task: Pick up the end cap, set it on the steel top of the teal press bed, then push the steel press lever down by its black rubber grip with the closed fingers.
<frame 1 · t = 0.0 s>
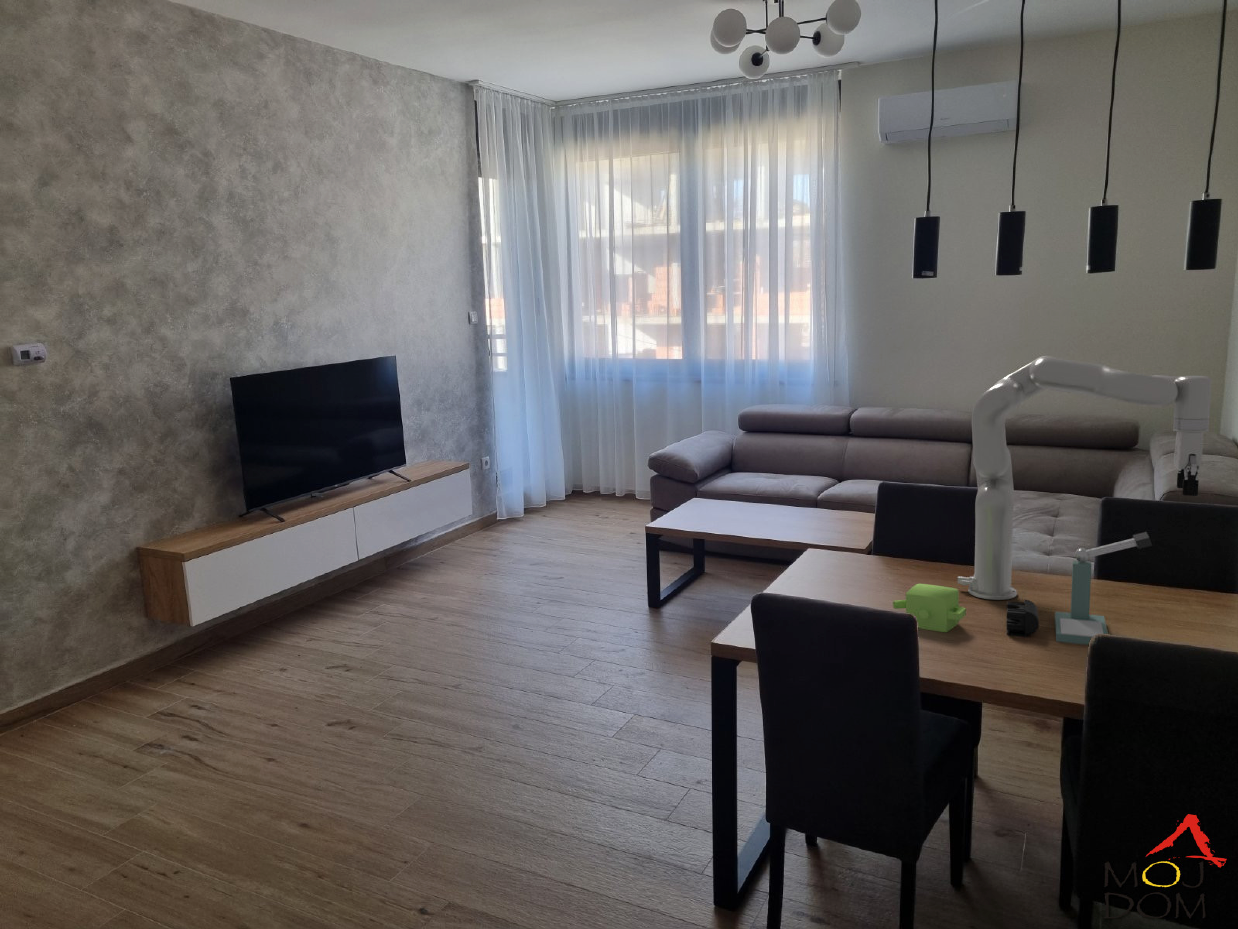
hand: (1186, 491, 224), 31 cm above the table, tool pointing down, fingers open, 9 cm apart
gearbox: (927, 626, 225), on the table
end cap: (1022, 631, 219), on the table
press lever: (1111, 547, 215), point 20 cm above the table, hinge at -20.0°
press frame: (1080, 632, 216), on the table
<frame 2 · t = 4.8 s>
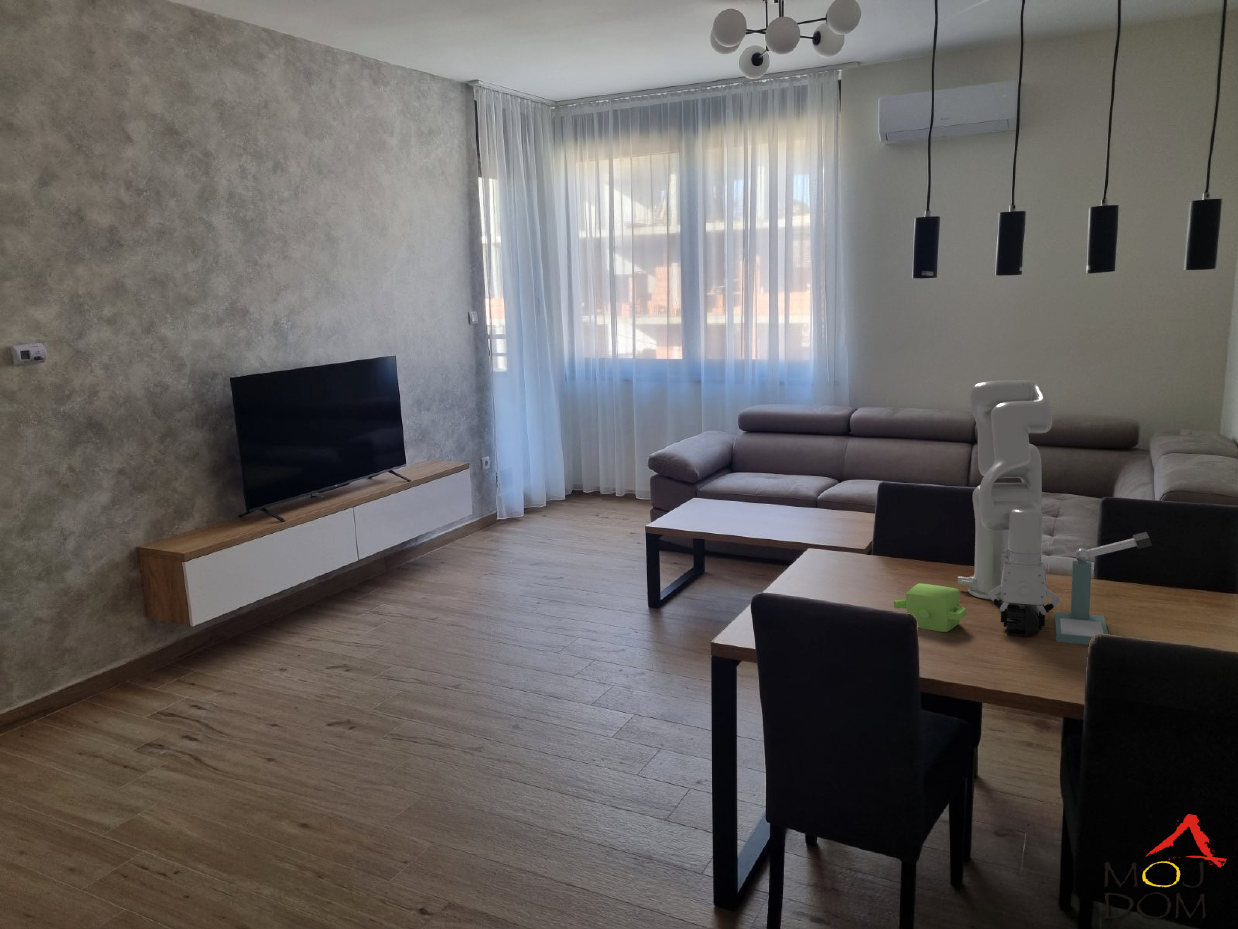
hand: (1022, 626, 218), 1 cm above the table, tool pointing down, fingers closed on end cap, 7 cm apart
end cap: (1022, 631, 219), on the table, touching gripper
everything else where it was.
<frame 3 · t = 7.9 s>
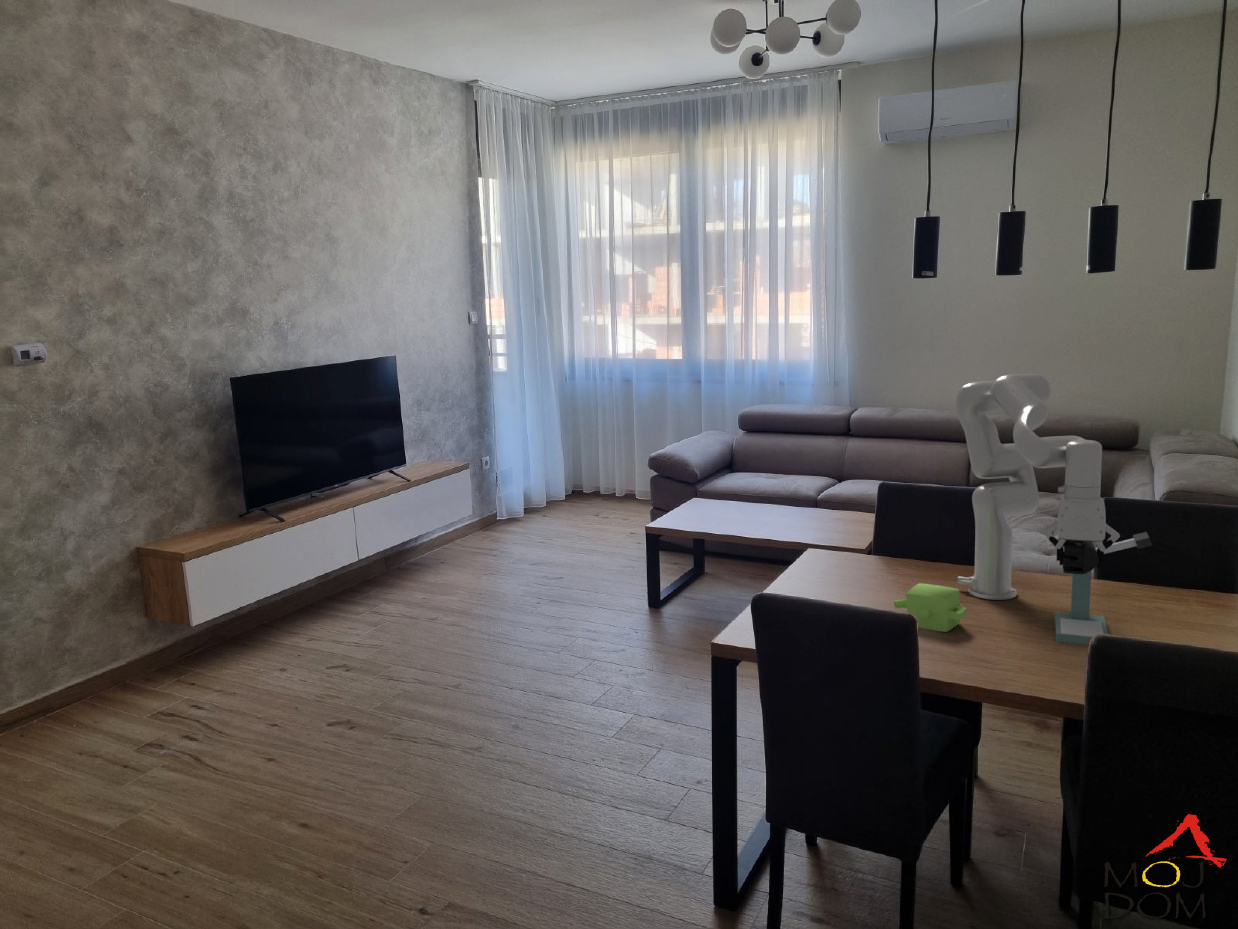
hand: (1079, 564, 211), 18 cm above the table, tool pointing down, fingers closed on end cap, 7 cm apart
end cap: (1079, 570, 211), point 17 cm above the table, touching gripper
everything else where it was.
when the fingers open (4 cm above the table, at t = 11.1 s): end cap stays where it is, resting on press frame.
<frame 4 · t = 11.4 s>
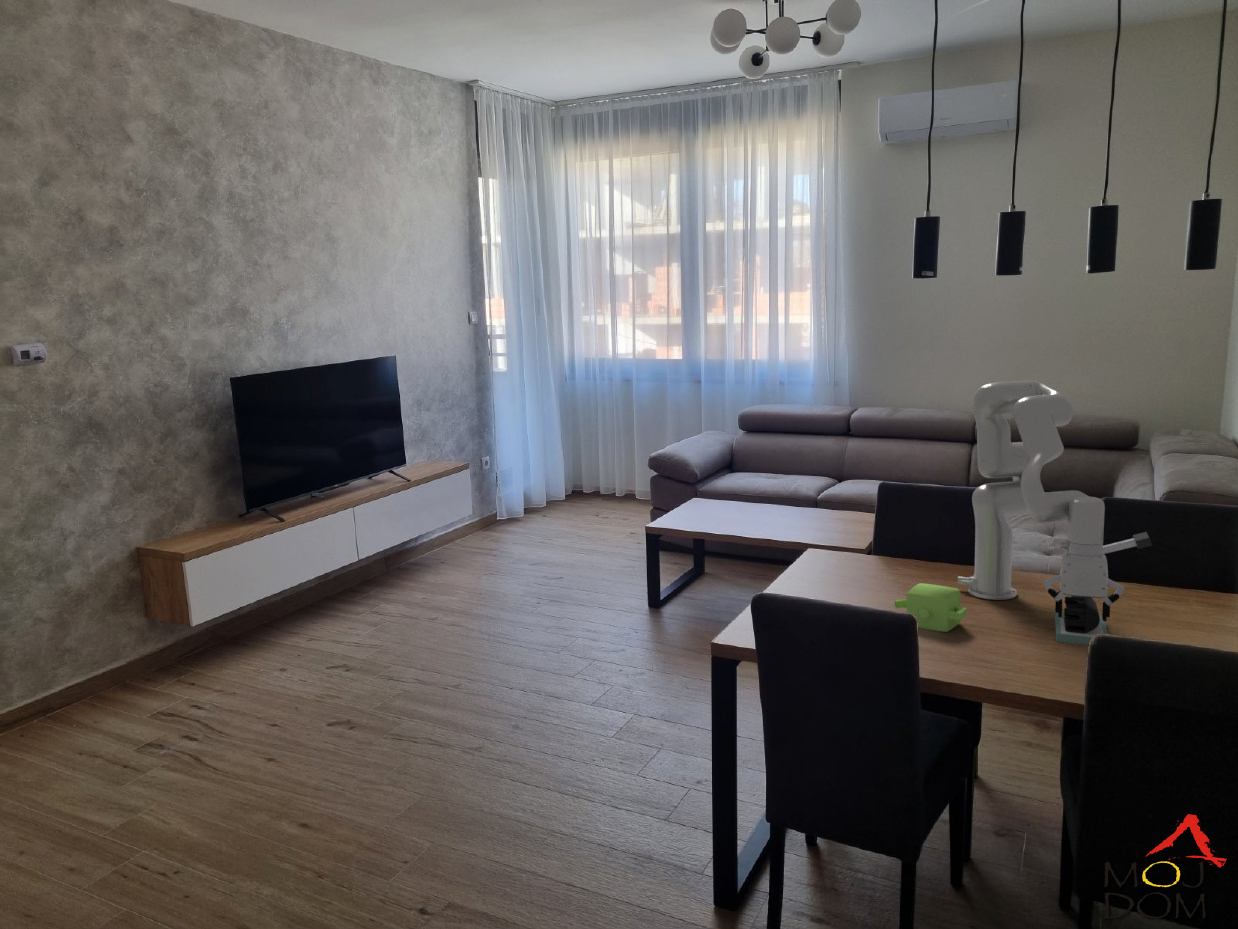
hand: (1081, 617, 212), 5 cm above the table, tool pointing down, fingers open, 9 cm apart
end cap: (1081, 627, 213), point 2 cm above the table, touching press frame
everything else where it was.
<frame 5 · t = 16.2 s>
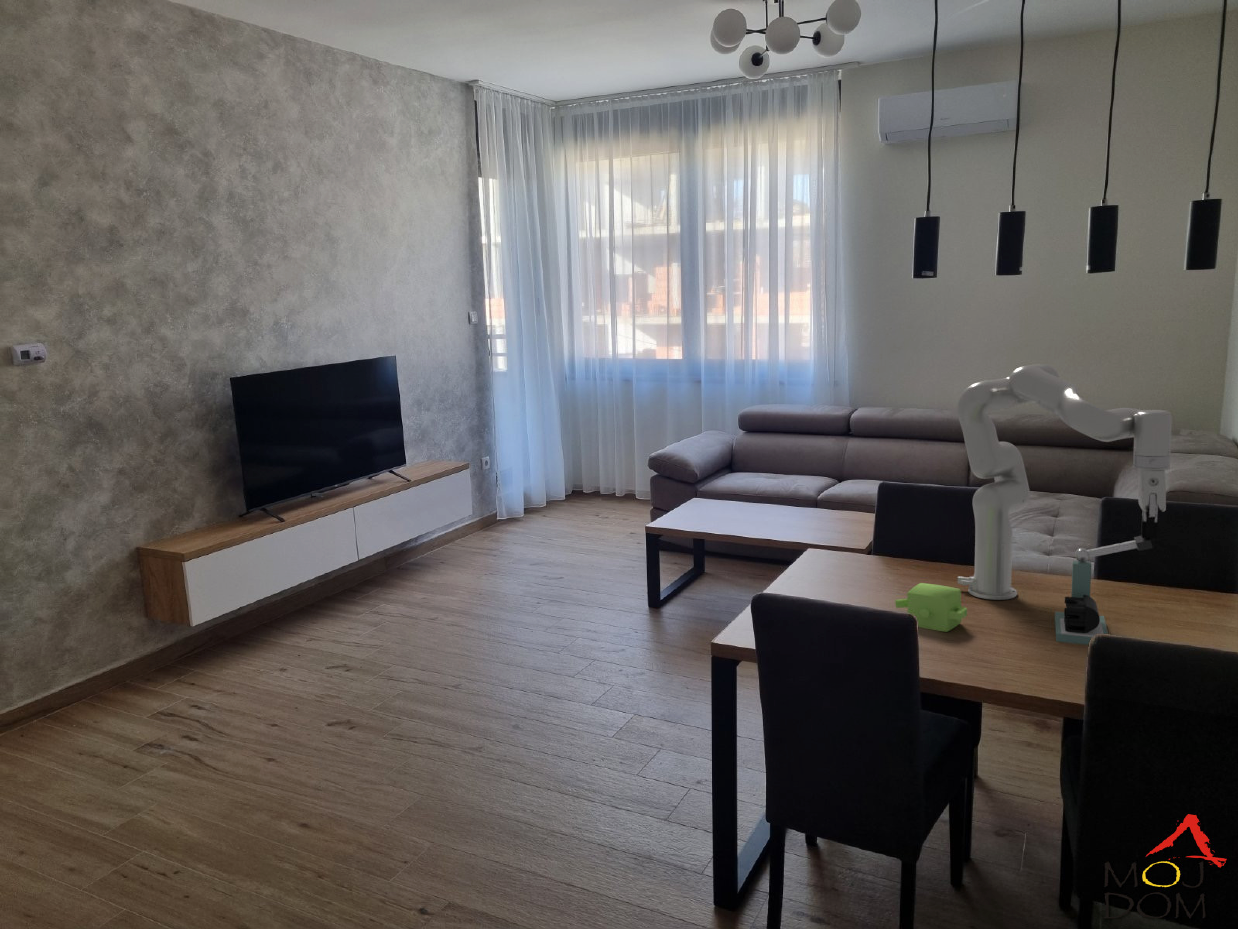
hand: (1148, 537, 211), 23 cm above the table, tool pointing down, fingers closed
press lever: (1112, 548, 215), point 20 cm above the table, hinge at -17.4°, touching gripper
everything else where it was.
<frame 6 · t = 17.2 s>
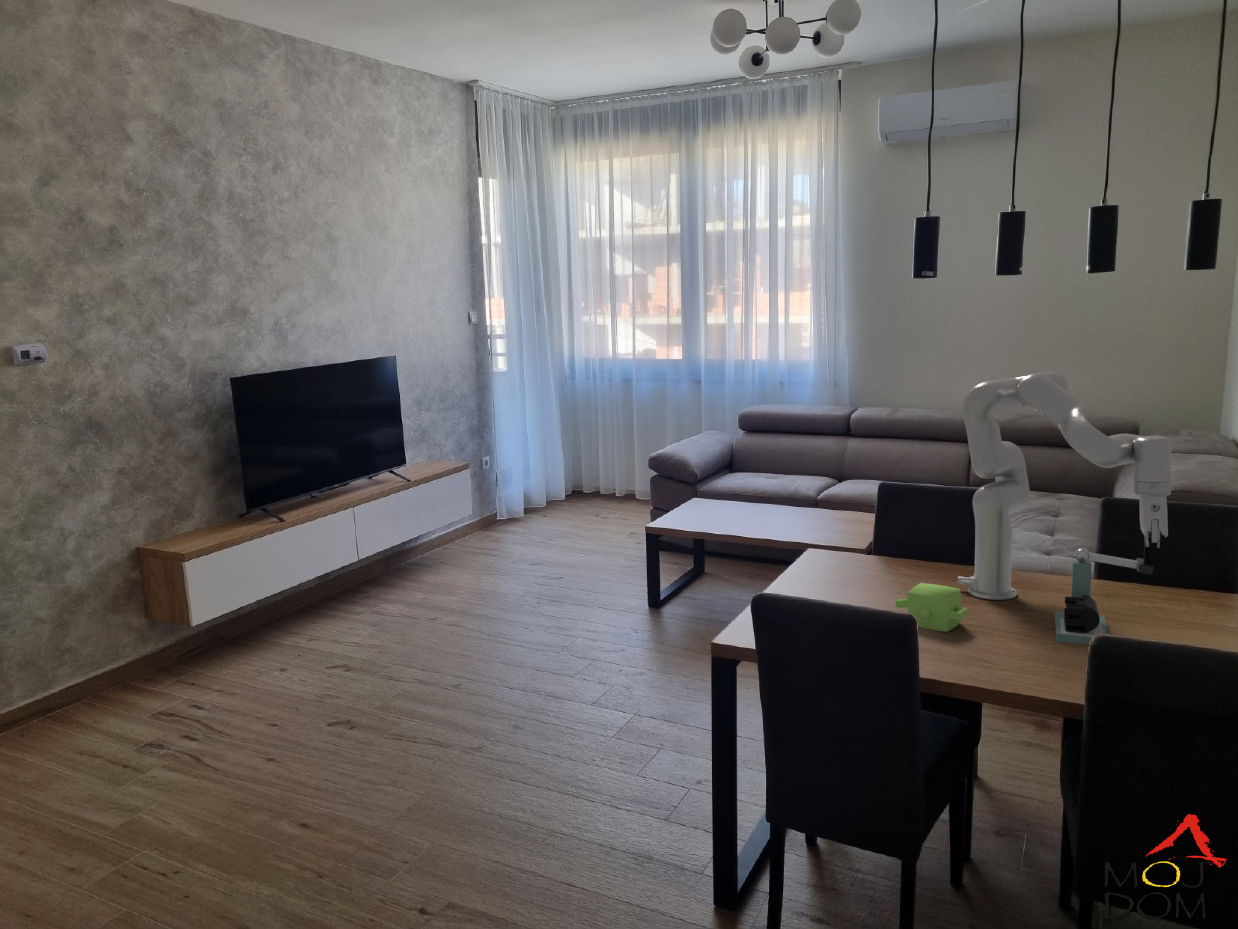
hand: (1152, 562, 212), 17 cm above the table, tool pointing down, fingers closed
press lever: (1112, 560, 216), point 17 cm above the table, hinge at 7.5°, touching gripper
everything else where it was.
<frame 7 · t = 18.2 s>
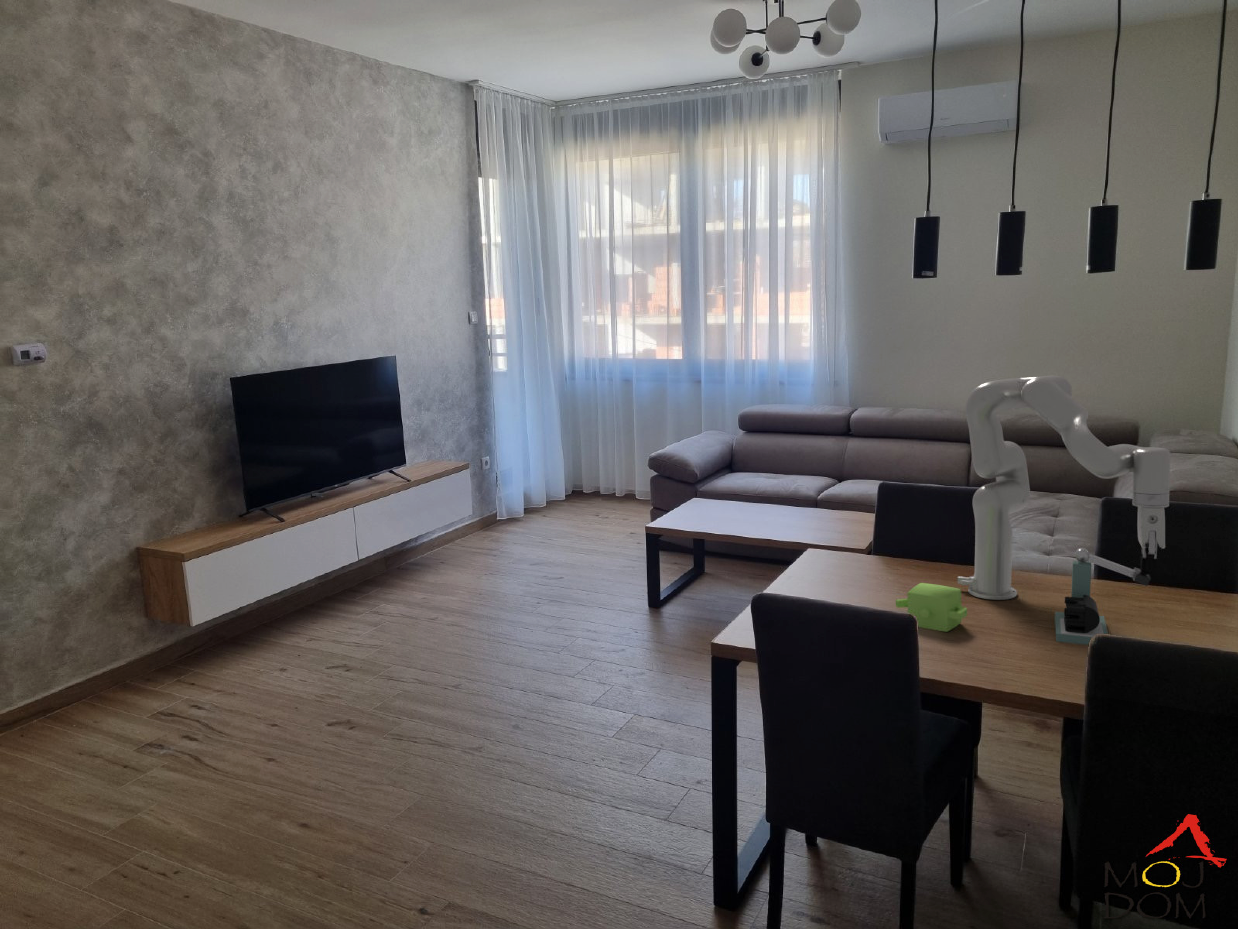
hand: (1148, 573, 213), 14 cm above the table, tool pointing down, fingers closed
press lever: (1111, 565, 216), point 16 cm above the table, hinge at 19.1°, touching gripper
everything else where it was.
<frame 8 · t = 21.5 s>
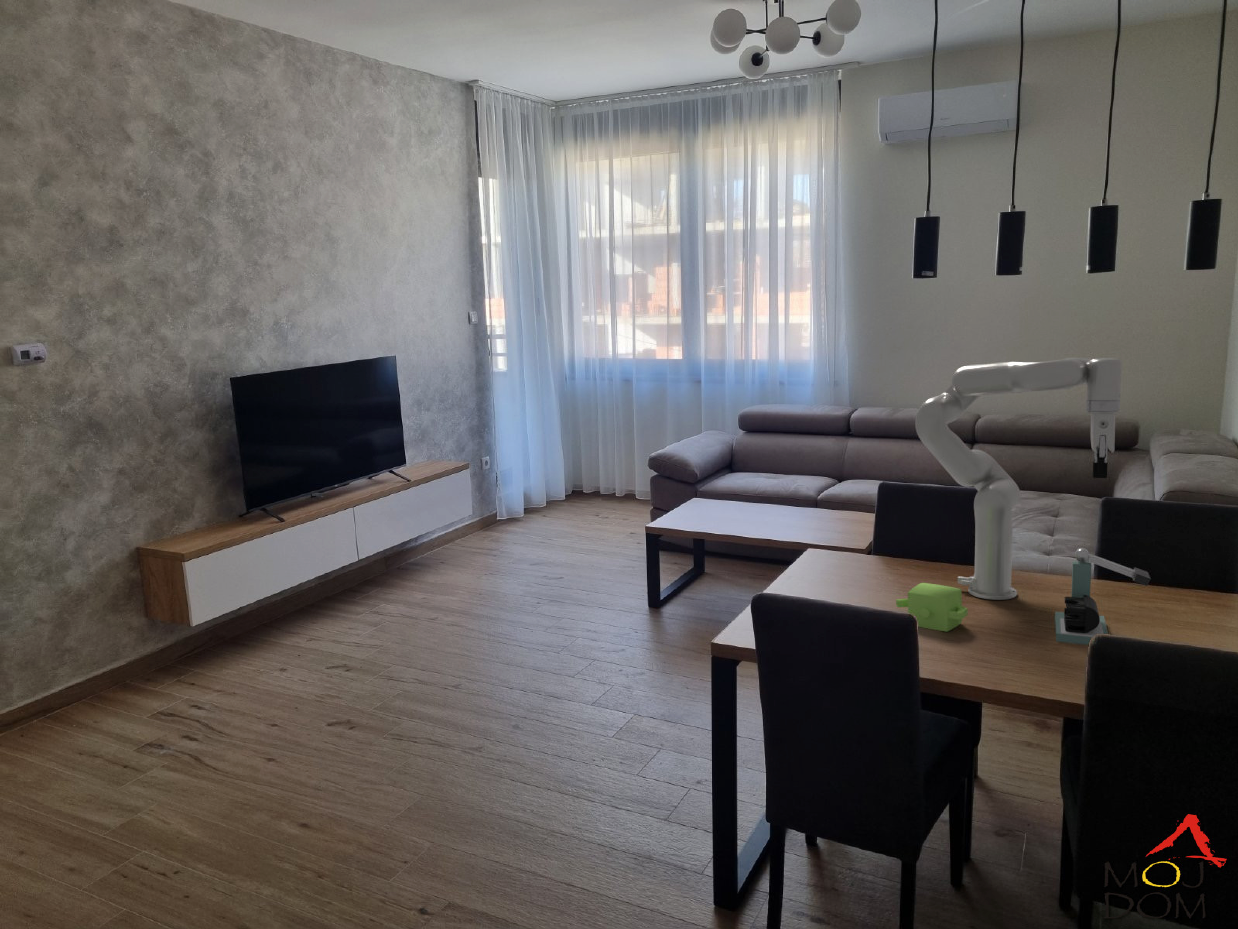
hand: (1099, 477, 227), 35 cm above the table, tool pointing down, fingers closed
press lever: (1111, 565, 216), point 16 cm above the table, hinge at 19.2°
everything else where it was.
at the end: end cap inside the target area on the press frame (0.1 cm from its centre), point 2.1 cm above the press frame's base; press lever at +19° (first picture: -20°); the gripper is holding nothing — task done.
